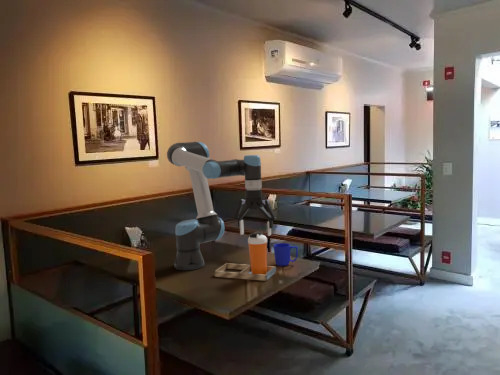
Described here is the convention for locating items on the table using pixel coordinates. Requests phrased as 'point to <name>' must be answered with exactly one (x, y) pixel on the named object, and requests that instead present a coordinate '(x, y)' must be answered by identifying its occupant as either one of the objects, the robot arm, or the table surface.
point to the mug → (283, 253)
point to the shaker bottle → (258, 253)
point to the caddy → (243, 272)
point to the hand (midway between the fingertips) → (255, 234)
